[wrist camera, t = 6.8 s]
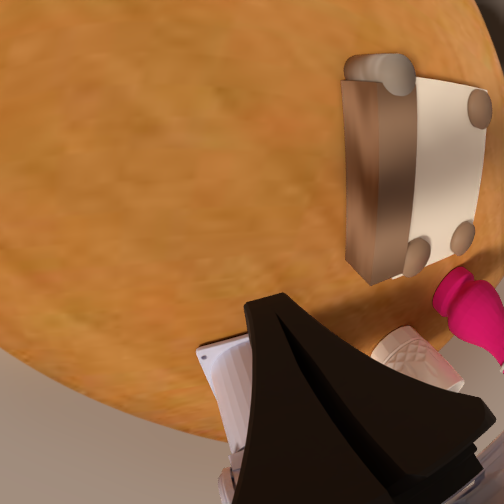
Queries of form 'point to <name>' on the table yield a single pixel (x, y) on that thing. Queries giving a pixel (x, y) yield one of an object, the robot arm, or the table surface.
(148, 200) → the table surface
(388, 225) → the folding leg
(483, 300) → the pepper mill
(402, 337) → the white cup
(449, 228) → the stool seat
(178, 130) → the table surface
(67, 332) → the table surface
